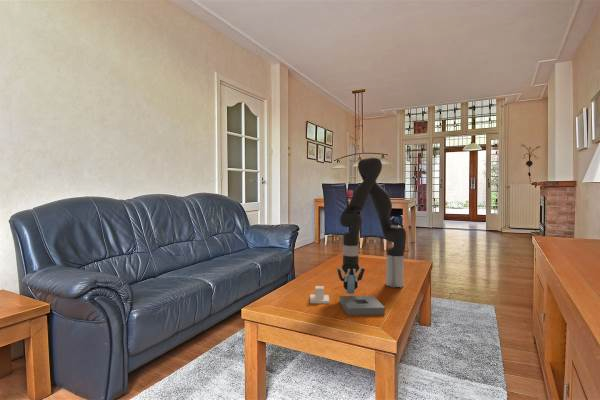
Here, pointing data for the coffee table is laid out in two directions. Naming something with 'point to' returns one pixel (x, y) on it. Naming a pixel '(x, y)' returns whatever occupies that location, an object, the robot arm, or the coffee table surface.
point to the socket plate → (362, 305)
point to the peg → (350, 284)
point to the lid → (319, 296)
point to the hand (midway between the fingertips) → (350, 288)
